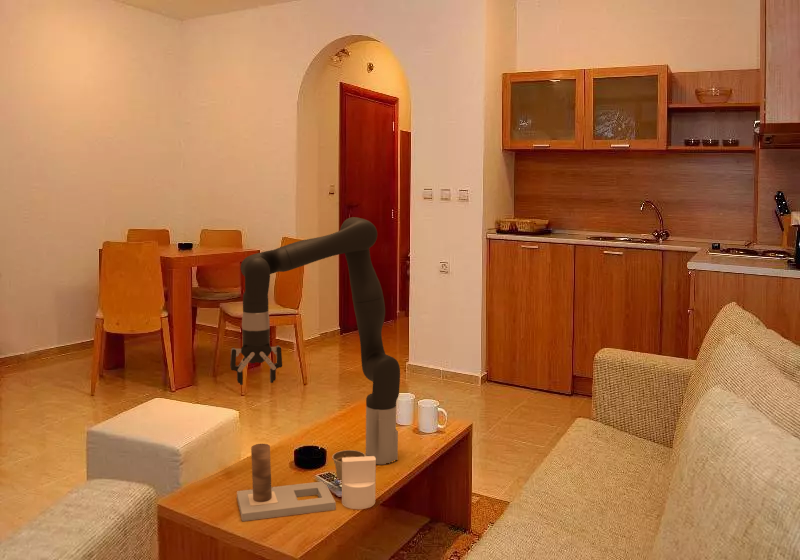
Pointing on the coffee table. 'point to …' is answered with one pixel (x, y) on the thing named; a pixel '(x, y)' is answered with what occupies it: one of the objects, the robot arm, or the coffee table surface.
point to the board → (286, 501)
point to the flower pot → (343, 454)
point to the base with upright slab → (358, 482)
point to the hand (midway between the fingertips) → (256, 383)
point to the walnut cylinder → (261, 472)
